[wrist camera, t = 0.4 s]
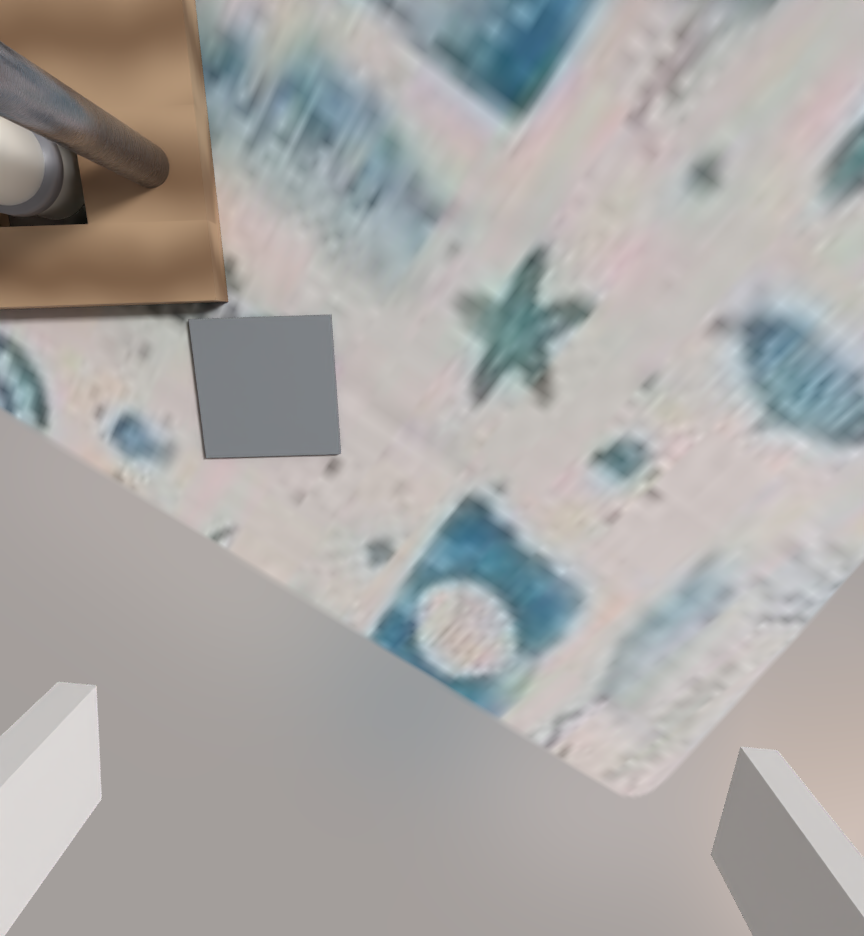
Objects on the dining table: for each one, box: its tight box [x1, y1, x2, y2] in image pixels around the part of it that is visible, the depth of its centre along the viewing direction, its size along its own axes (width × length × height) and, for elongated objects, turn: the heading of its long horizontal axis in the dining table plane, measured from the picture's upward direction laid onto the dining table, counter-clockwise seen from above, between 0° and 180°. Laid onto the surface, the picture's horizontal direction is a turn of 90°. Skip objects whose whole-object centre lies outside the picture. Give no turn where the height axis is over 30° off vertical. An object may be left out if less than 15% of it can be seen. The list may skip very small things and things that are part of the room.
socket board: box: [0, 0, 228, 309], centre depth 33 cm, size 19×16×2 cm
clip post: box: [0, 41, 170, 188], centre depth 23 cm, size 4×4×20 cm
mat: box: [189, 315, 341, 458], centre depth 37 cm, size 9×9×1 cm
